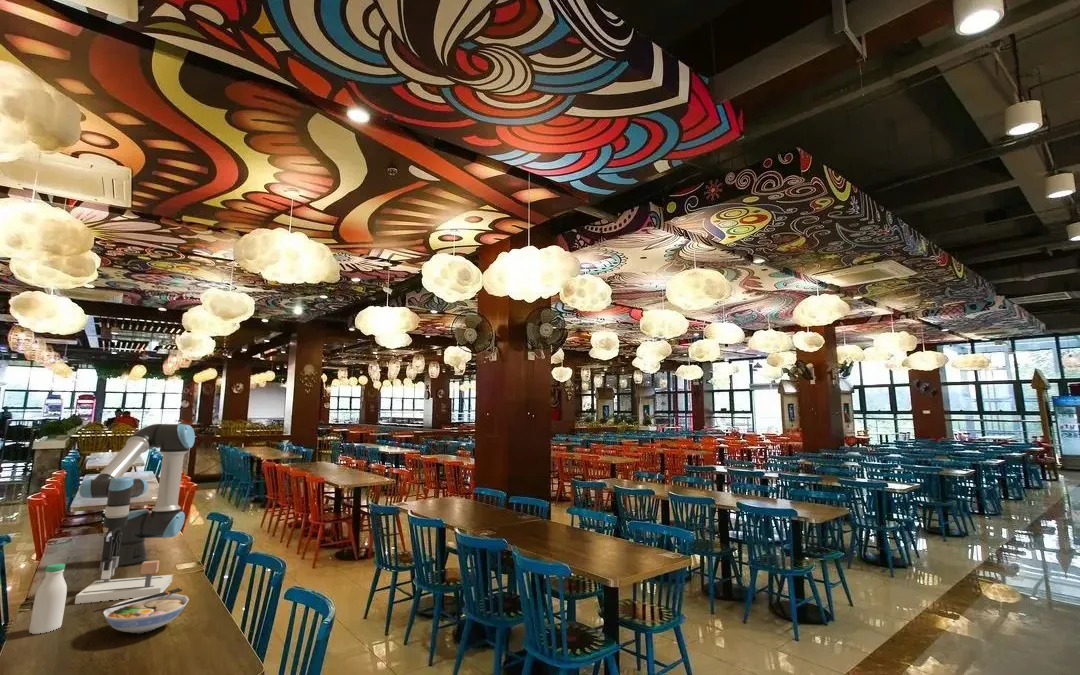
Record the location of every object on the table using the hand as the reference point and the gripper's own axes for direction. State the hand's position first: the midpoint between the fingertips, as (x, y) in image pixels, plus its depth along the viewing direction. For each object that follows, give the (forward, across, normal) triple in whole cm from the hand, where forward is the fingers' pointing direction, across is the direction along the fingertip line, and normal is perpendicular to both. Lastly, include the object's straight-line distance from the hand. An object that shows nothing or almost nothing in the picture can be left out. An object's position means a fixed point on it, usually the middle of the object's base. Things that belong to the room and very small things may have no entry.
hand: (107, 577), depth 204 cm
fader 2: (+2, +12, +16) cm, 20 cm away
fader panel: (+5, +6, +8) cm, 11 cm away
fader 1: (+2, 0, 0) cm, 2 cm away
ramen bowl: (+5, +50, +26) cm, 56 cm away
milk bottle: (+5, +40, -3) cm, 40 cm away
